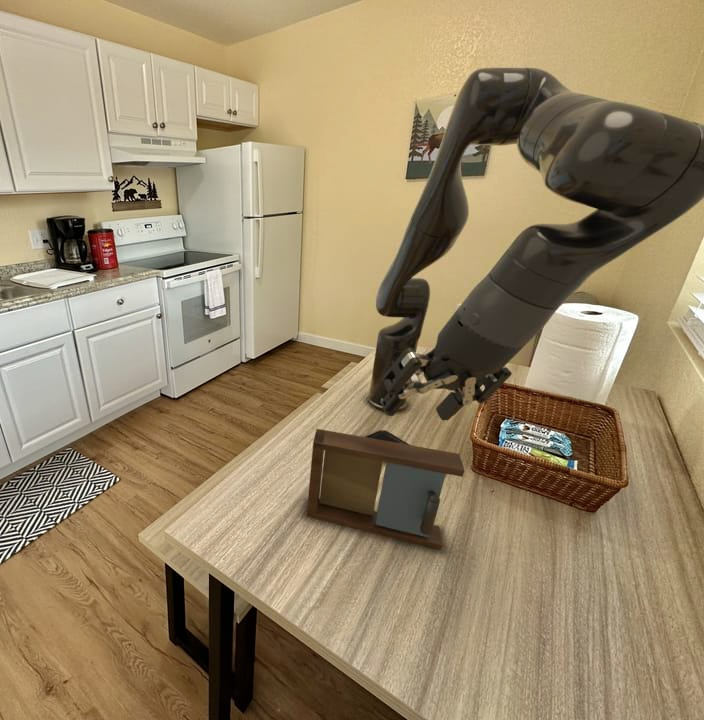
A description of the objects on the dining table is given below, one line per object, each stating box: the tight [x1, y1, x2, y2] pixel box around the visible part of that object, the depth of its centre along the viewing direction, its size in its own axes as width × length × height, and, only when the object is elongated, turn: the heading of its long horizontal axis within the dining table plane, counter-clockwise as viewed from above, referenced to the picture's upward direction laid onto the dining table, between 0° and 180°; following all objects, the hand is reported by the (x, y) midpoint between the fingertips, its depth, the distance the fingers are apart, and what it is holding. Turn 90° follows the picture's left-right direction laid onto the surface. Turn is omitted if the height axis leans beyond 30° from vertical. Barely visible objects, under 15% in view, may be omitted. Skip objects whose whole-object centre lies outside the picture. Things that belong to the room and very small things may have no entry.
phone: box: [365, 429, 411, 445], centre depth 82 cm, size 8×1×15 cm
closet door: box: [375, 462, 447, 537], centre depth 59 cm, size 4×8×13 cm, turn 70°
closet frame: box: [306, 428, 466, 551], centre depth 63 cm, size 4×21×16 cm, turn 70°
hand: (413, 413), depth 53 cm, fingers open, 8 cm apart
